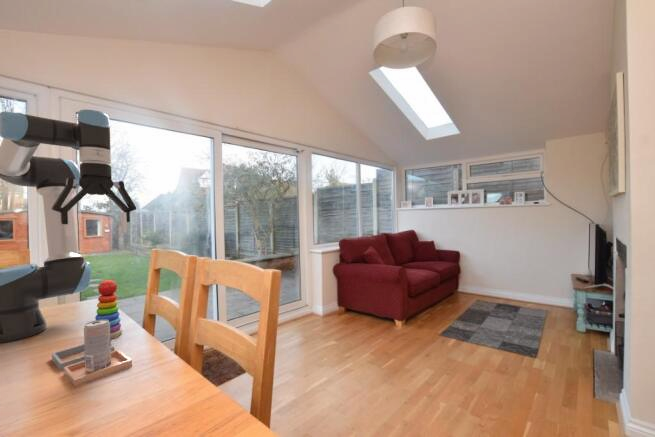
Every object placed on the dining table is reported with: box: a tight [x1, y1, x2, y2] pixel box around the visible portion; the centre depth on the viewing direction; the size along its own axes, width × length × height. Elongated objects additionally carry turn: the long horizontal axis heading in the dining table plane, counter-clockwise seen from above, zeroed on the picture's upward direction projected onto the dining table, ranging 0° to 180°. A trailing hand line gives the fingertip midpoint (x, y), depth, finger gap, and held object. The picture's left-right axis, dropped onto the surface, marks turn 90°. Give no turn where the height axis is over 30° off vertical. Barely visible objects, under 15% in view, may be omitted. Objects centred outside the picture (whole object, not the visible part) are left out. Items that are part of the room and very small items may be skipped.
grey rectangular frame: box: [51, 343, 115, 371], centre depth 86 cm, size 10×12×2 cm
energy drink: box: [83, 319, 112, 373], centre depth 78 cm, size 5×5×12 cm
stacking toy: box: [94, 279, 123, 340], centre depth 100 cm, size 8×8×19 cm
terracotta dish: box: [63, 349, 133, 388], centre depth 78 cm, size 10×12×2 cm
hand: (98, 234), depth 91 cm, fingers open, 13 cm apart
